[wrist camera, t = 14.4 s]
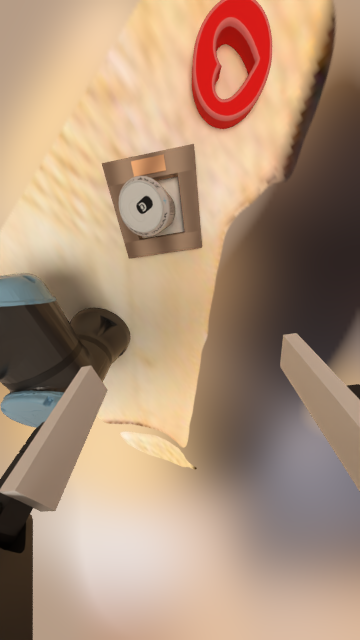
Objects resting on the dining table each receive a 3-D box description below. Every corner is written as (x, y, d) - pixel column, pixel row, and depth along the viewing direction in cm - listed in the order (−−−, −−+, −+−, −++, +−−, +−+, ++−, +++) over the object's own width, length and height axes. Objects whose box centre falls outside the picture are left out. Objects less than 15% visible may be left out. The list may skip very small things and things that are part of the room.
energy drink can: (135, 205, 32) (101, 199, 19) (162, 181, 30) (144, 156, 17) (156, 235, 34) (138, 248, 21) (181, 215, 32) (179, 216, 19)
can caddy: (133, 255, 36) (128, 258, 33) (109, 167, 29) (100, 162, 26) (200, 244, 35) (202, 247, 32) (193, 150, 28) (193, 143, 25)
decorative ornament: (269, 102, 25) (279, 89, 22) (206, 143, 27) (209, 136, 25) (253, -7, 21) (263, -40, 18) (180, 53, 23) (179, 32, 20)
